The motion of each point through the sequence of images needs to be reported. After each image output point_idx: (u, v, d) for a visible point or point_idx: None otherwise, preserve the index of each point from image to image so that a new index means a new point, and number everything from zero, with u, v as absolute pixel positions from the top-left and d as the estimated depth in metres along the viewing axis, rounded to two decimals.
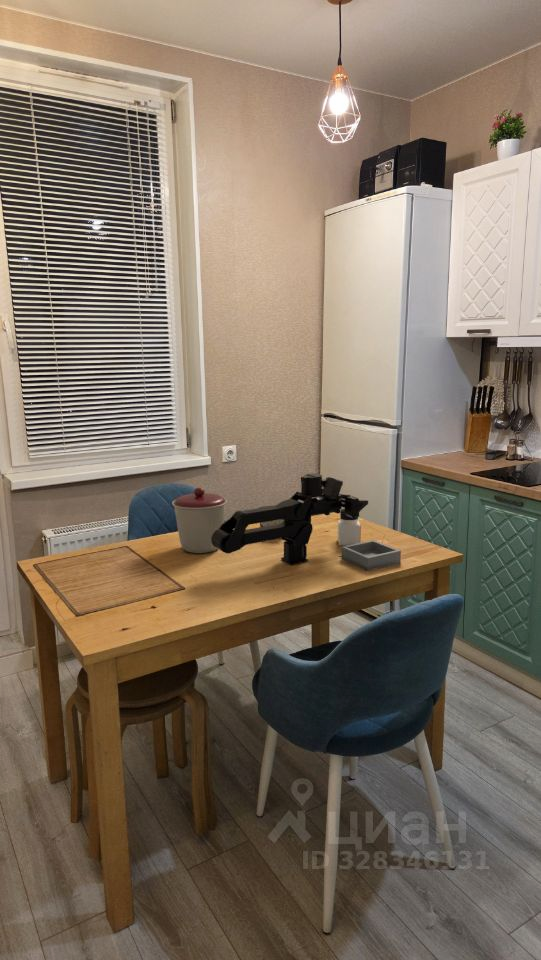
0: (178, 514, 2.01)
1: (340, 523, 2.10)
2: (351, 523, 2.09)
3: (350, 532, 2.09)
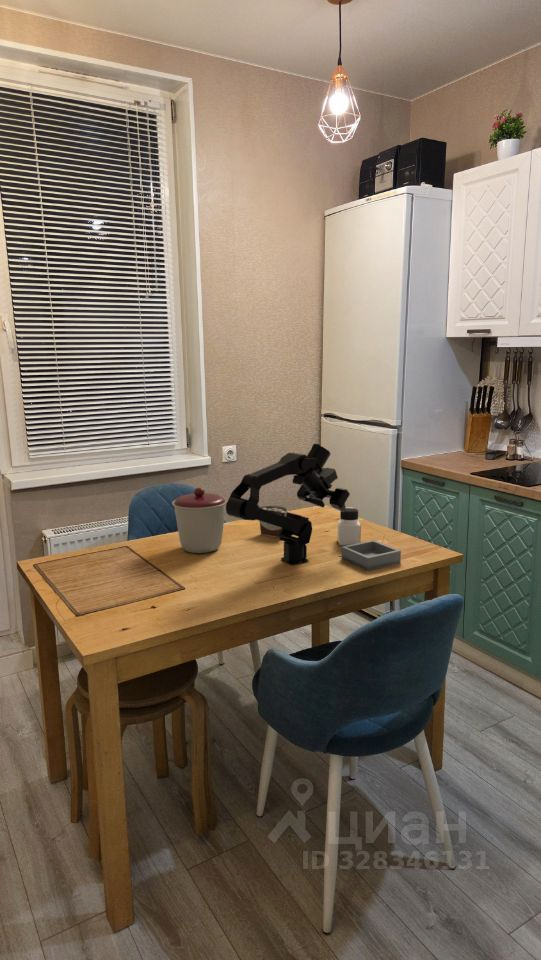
0: (178, 514, 2.01)
1: (340, 523, 2.10)
2: (351, 523, 2.09)
3: (350, 532, 2.09)
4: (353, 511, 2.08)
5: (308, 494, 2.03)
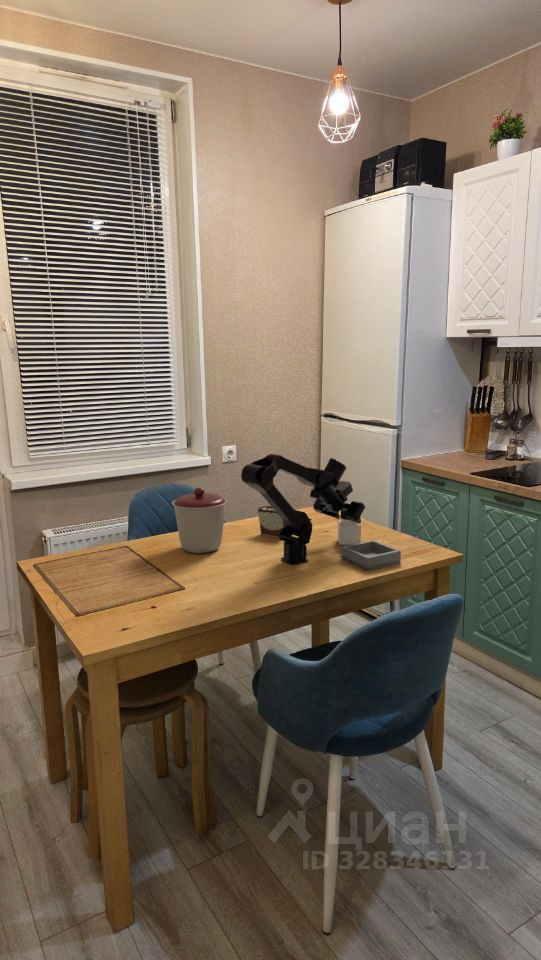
0: (178, 514, 2.01)
1: (340, 523, 2.11)
2: (351, 523, 2.09)
3: (350, 531, 2.09)
4: None
5: (324, 506, 2.09)
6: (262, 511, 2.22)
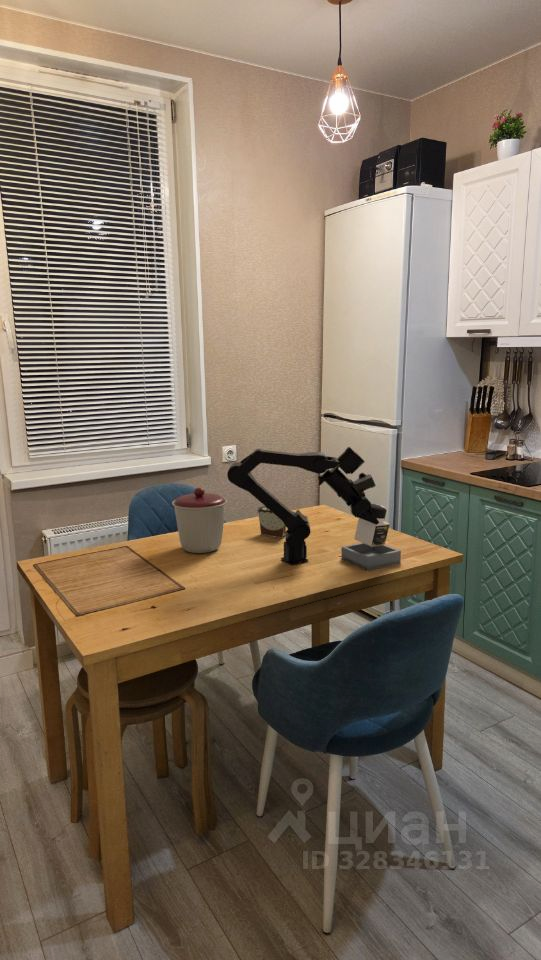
0: (178, 514, 2.01)
1: None
2: None
3: (365, 528, 1.90)
4: (375, 508, 1.89)
5: None
6: (262, 511, 2.22)
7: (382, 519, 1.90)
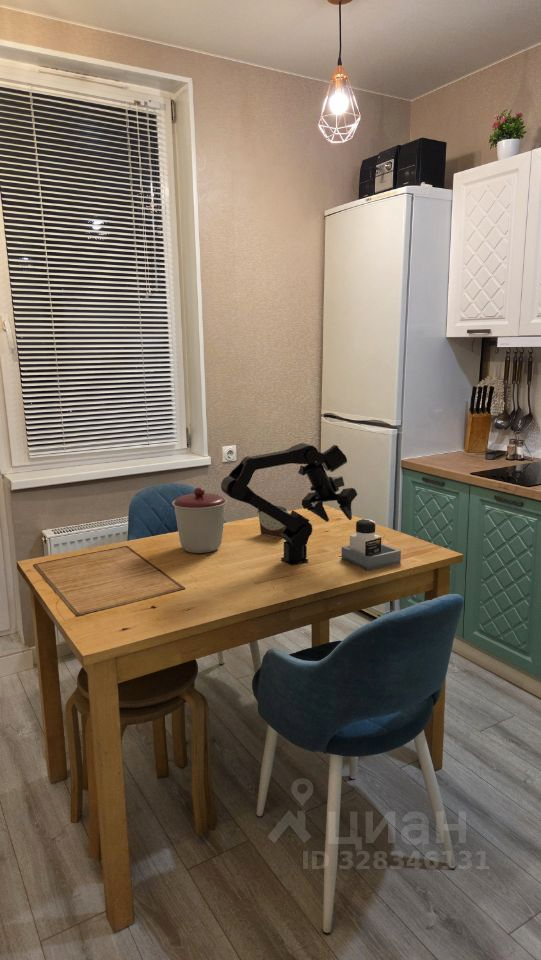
0: (178, 514, 2.01)
1: (355, 534, 1.94)
2: (360, 536, 1.91)
3: (357, 545, 1.91)
4: (363, 523, 1.90)
5: (313, 501, 1.98)
6: None
7: (372, 533, 1.90)
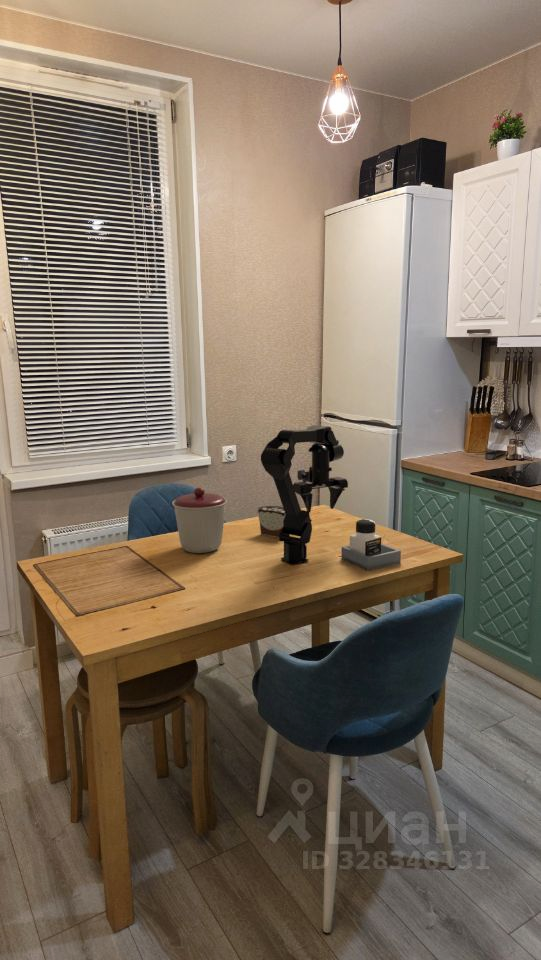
0: (178, 514, 2.01)
1: (355, 534, 1.94)
2: (360, 536, 1.91)
3: (357, 545, 1.91)
4: (363, 523, 1.90)
5: None
6: (262, 511, 2.22)
7: (372, 533, 1.90)
